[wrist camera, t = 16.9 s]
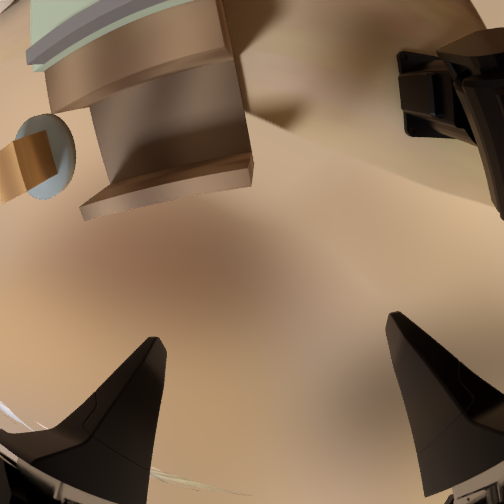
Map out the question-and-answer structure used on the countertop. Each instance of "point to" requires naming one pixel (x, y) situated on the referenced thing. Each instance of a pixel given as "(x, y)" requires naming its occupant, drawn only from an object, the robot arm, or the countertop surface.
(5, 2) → the spread jar
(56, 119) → the grey dome cap
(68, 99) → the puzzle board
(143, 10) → the cover
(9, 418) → the countertop surface
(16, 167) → the block
